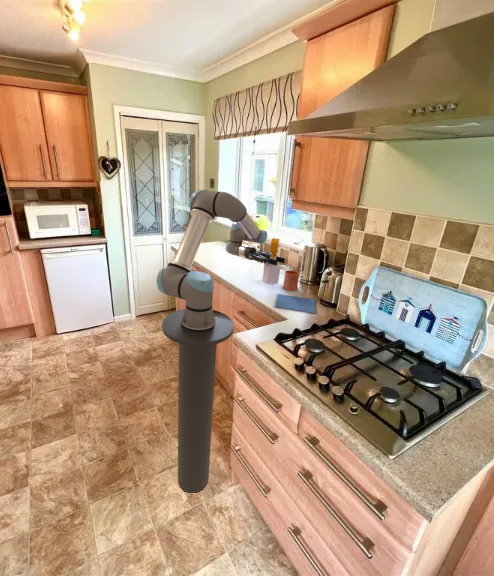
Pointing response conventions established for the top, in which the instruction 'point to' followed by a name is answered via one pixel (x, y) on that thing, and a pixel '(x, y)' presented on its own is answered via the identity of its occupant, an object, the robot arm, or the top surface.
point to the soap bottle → (272, 270)
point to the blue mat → (295, 303)
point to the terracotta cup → (291, 280)
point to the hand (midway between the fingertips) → (280, 261)
